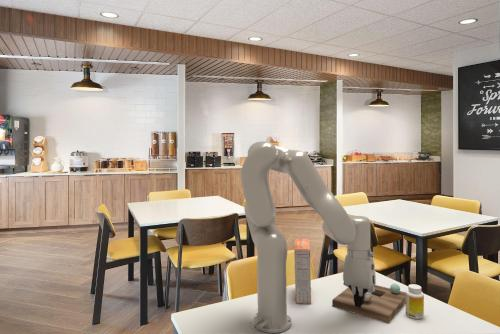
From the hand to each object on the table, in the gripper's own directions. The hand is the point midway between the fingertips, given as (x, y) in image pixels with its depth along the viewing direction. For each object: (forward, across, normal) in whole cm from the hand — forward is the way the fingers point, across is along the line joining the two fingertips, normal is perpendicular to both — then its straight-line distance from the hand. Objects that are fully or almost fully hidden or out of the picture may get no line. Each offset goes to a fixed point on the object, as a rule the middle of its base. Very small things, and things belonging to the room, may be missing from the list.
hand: (358, 305), depth 122 cm
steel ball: (-1, 0, -6) cm, 6 cm away
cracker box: (+4, +23, -1) cm, 23 cm away
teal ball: (-1, -6, -19) cm, 20 cm away
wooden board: (+3, 0, -11) cm, 12 cm away
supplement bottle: (+4, -15, -11) cm, 19 cm away
